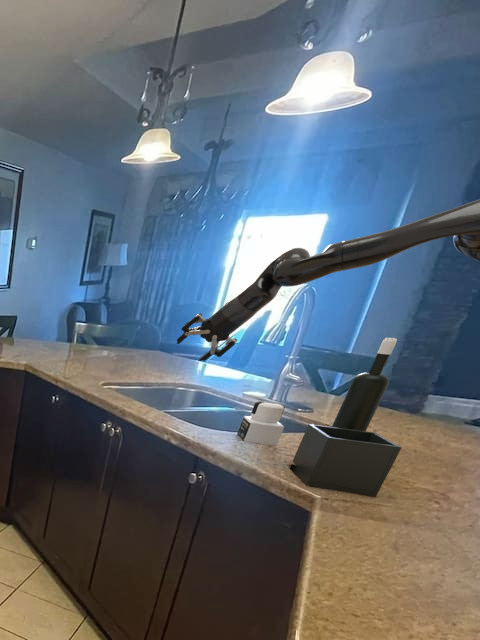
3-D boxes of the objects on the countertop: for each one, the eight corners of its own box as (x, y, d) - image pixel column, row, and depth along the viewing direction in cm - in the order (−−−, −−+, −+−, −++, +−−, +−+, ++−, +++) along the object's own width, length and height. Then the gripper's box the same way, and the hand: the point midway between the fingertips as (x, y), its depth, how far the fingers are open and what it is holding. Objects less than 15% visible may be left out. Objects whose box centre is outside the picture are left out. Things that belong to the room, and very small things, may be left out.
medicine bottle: (234, 440, 134) (250, 397, 130) (266, 445, 132) (283, 401, 127) (240, 447, 129) (257, 403, 124) (274, 452, 126) (292, 407, 121)
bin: (351, 478, 111) (374, 432, 107) (375, 497, 101) (402, 447, 97) (289, 468, 115) (308, 424, 111) (306, 485, 106) (328, 437, 101)
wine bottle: (328, 460, 122) (386, 336, 110) (354, 468, 117) (417, 340, 105) (309, 460, 121) (365, 336, 109) (334, 469, 116) (396, 339, 104)
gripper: (209, 304, 142) (166, 342, 156) (252, 334, 139) (204, 371, 153) (218, 293, 145) (174, 332, 159) (259, 323, 142) (212, 359, 157)
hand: (189, 351), depth 156 cm, fingers open, 8 cm apart
